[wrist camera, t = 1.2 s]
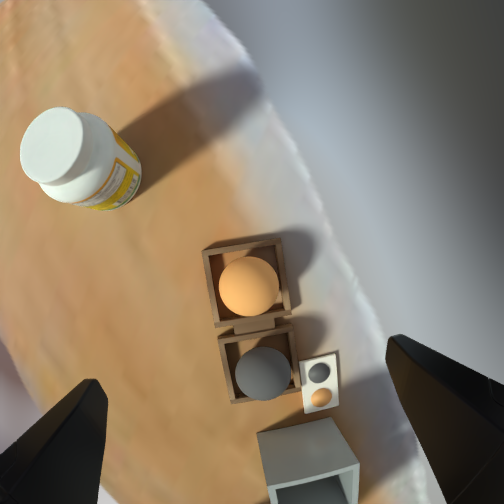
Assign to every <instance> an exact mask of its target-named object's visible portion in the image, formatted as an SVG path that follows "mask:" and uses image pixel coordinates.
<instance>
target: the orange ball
mask: <svg viewBox="0 0 504 504" xmlns="http://www.w3.org/2000/svg"><path fill="white" fill-rule="evenodd" d="M278 291H279V281H278V277H277V274H276V273H275V271H274V269H273V268H272V267H271V266H270V265H269V264H268V263H267V262H266V261H264V260H262V259H260V258H257V257H241V258H238V259H236V260H234V261H232V262H231V263H230V264H229V265H228V266H227V267H226V268H225V269H224V271H223V272H222V274H221V277H220V281H219V292H220V296H221V298H222V300H223V302H224V304H225V305H226V306H227V307H228V308H229V309H230V310H231V311H233V312H234V313H236V314H239V315H242V316H256V315H259V314H262V313H264V312H265V311H267V310H268V309H269V308H270V307H271V306H272V305H273V304H274V302H275V300H276V298H277V296H278Z"/></svg>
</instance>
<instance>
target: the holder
mask: <svg viewBox="0 0 504 504" xmlns="http://www.w3.org/2000/svg"><path fill="white" fill-rule="evenodd" d="M271 245H274V247H275V254H276V260H277V267H278V274H279V280H280V287H281V294H282V301H283V308H281V309H275V310H270V311H265V312H264V313H262V314H259V315H256V316H242V315H241V316H235V317H229V318H223V319H220V317H219V312H218V306H217V301H216V295H215V289H214V284H213V278H212V272H211V266H210V260H209V255H215V254H221V253H227V252H234V251H240V250H246V249H252V248H258V247H265V246H271ZM202 257H203V263H204V269H205V274H206V280H207V286H208V291H209V297H210V302H211V308H212V313H213V319H214V324H215V328H218V327H224V326H231V325H233V327H234V332H235V333H234V334H228V335H222V336H218V344H219V349H220V354H221V359H222V364H223V369H224V374H225V378H226V383H227V388H228V392H229V397H230V401H231V404H236V403H242V402H248V401H254V400H255V399H252V398H250V397H248V396H247V395H245V394H244V393H242V394H235V393H234V388H233V383H232V378H231V374H230V369H229V364H228V359H227V354H226V349H225V343H232V342H238V341H244V340H249V339H255V338H261V337H266V336H272V335H277V334H282V333H287V337H288V344H289V351H290V359H291V366H292V374H293V382H294V384H290V385H288V387H287V388H286V390H285V391H284V392H283V393H282V394H281V395H285V394H290V393H294V392H299V391H301V384H300V376H299V368H298V360H297V352H296V344H295V336H294V329H293V325H292V324H291V323H290V324H285V325H279V326H275V322H274V318H276V317H282V316H287V315H292V314H291V306H290V299H289V292H288V285H287V278H286V271H285V264H284V258H283V251H282V244H281V238H276V239H270V240H263V241H257V242H251V243H244V244H238V245H232V246H226V247H220V248H214V249H207V250H202ZM279 396H280V395H279Z"/></svg>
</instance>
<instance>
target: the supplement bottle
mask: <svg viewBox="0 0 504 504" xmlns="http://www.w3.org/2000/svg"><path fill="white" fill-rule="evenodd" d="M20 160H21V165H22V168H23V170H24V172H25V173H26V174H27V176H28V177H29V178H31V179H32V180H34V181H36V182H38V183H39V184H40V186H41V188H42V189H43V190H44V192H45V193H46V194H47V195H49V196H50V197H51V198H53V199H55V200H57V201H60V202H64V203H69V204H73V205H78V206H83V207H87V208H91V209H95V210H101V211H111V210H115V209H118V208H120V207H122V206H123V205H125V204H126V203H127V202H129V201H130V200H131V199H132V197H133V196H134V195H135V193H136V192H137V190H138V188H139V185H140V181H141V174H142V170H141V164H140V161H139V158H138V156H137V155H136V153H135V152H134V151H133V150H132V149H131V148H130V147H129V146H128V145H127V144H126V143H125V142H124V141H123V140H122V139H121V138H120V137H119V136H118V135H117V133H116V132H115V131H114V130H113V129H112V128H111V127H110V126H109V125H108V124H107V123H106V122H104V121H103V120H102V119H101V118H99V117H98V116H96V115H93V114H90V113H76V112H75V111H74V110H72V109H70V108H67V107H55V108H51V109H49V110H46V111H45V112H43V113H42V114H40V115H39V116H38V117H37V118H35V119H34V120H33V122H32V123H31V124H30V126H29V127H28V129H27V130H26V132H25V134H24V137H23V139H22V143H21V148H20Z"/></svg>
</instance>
